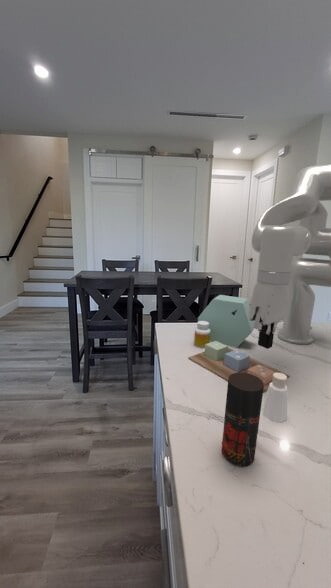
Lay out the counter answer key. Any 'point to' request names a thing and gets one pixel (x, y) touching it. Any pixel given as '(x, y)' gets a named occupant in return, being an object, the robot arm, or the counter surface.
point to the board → (224, 371)
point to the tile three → (262, 373)
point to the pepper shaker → (276, 399)
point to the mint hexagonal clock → (228, 320)
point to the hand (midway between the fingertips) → (264, 346)
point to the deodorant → (242, 418)
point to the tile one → (215, 350)
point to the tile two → (236, 361)
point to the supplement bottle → (202, 334)
